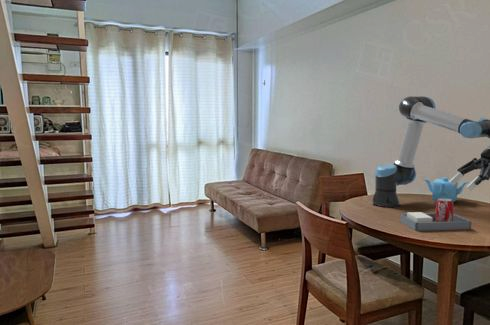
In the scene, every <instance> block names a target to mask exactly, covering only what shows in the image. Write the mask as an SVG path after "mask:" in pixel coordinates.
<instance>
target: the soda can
mask: <svg viewBox="0 0 490 325" xmlns="http://www.w3.org/2000/svg"><path fill="white" fill-rule="evenodd" d="M453 203H454V202H452V200H451V199H447V198H439V199H438V201H437V202H435V204H436V205H435V213H436V222H453V214H454V204H453Z"/></svg>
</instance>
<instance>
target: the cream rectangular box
mask: <svg viewBox="0 0 490 325" xmlns="http://www.w3.org/2000/svg"><path fill="white" fill-rule="evenodd" d="M424 213H425V212H421V211H415V212H412V211H411V212H410V211H409V212H406V214H407V217H408V218H410V219H411V220H413V221H415V222H417V223H420V222H432V220H433V218H432V217H430V216H428V215H426V214H424Z"/></svg>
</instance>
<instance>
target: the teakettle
mask: <svg viewBox="0 0 490 325" xmlns="http://www.w3.org/2000/svg"><path fill="white" fill-rule="evenodd" d="M422 180H423V181H425V182H426V183H427V188H428V189H429V191H430V192H431V193H432V196H431V197H432V199H431V200H433V201H434V203H437V201H438V199H439V198H447V199H451V200H452V202H453V205H454V203H455V202H456V201H457V198H458V195H460V194H461V193H462V191H463V189H464V188H465V185H467V184H470V181H463V182H462V183H461V184H460V186H459V188H458V183H459V181H458V182H457V183H456V184H455V185H452V184H451V183H450V182H449V181H450V180H451V179H449V177H442V178H436V179H434V181H433V182H432V184H431V181H430V180H429V179H427V178H423V179H422Z"/></svg>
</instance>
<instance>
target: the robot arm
mask: <svg viewBox="0 0 490 325" xmlns="http://www.w3.org/2000/svg"><path fill="white" fill-rule="evenodd" d="M398 111H399V113H400V114H401V116H403V117H405V119H406V121H407V123H406V124H407V125H406V128H405V131H404V135H403V139H402V143H401V146H400V150H399V153H398V157H397V159H396V160H394V162H393V164H382V165H378V166H377V167H376V168H375V179H374V180H375V187H374V188H375V189H374V190H375V191H374V194H373V198H372V200H371V204H372V203H373V204H375V205H379V206H378V207H380V206H385V207H384V208H395V207H399V206H400V201H399V200H400V199H399V196H398V194H397V187H398V186H405V185H408V184H411V183H413V182H414V181H415V179H416V177H417V170H416V169H415V167H416V166H415V164H414V160H415V156H416V153H417V149H418V146H419V142H420V139H421V135H422V132H423V128H424V126H425V124H427V123H428V124H431V125H434V126H437V127H441V128H443V129H445V130H449V131H452V132H455V133H457V134H460V135H461V136H462V137H463V138H466V139H476V138H488V139H490V119H487V118H485V117H481V118H479V119H477V121H474V120H472V119H468V118H467V117H466V118H465V117H462V116H459V115H456V114H452V113H450V112H447V111H443V110H440V109H436V104H435V102H434V99H433V98H431V97H429V96H407V97H404V98H403V99H402V100H401V101H400V103H399V105H398ZM476 170H480V172H479V174H478V176H476V177H475V178H474V179H473V180H472V181H471V182H469V183H468V185H467V186H466V188H467V189H468V190H469V191H470V192H472V191H473V190H475V188H476V187H478V186H479V185H480V184H481V183H482V182H484V181H489V180H490V144H489V145H488V146H487V147H486V148H485V149H484V150H483V151H482V152H480V158H479V159H478V158H477V157H474V158H473V159H471V160H470V161H469V162H467V163H466V164H463V165H462V166H460V167H459V168H458V169H457V170H456V171H457V173H456V174H455V175H454V176H453V177H452V178H450V179H449V180H450V181H449V182H450V183H451V184H452V185H455V184H456V183H457V182H458V183H459V181H460V180H462V178H463V177H464V175H465V174H468V173H470V172H472V171H476ZM373 204H372V205H373ZM375 205H374V206H375Z"/></svg>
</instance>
